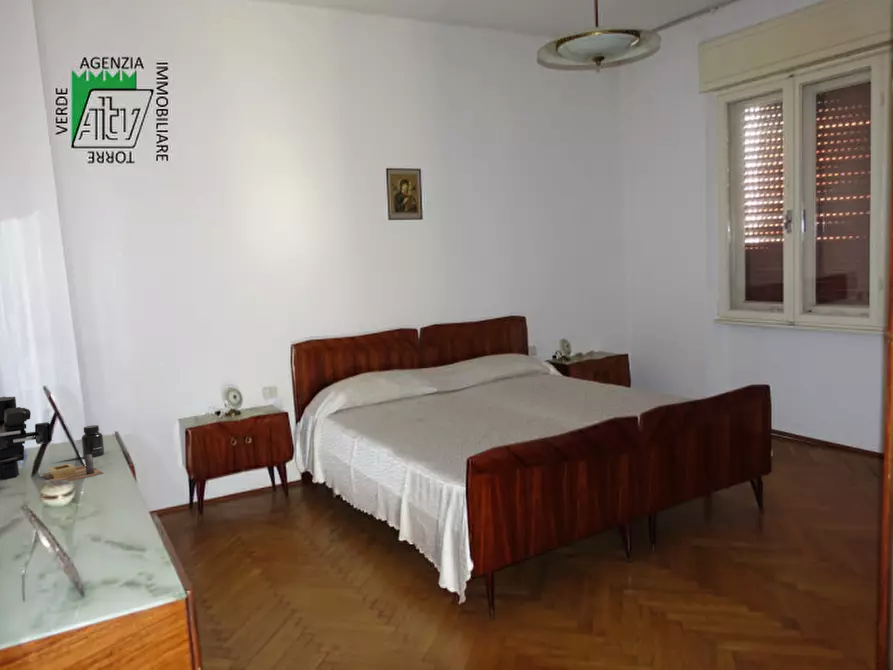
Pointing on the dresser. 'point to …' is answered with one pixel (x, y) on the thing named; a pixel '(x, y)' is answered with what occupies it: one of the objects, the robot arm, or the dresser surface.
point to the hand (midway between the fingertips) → (24, 442)
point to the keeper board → (79, 471)
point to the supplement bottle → (92, 441)
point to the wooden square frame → (62, 470)
